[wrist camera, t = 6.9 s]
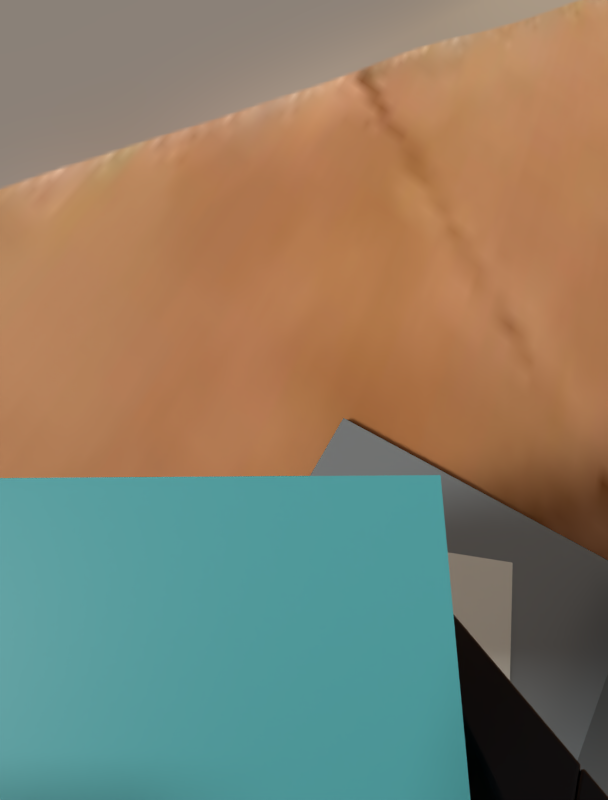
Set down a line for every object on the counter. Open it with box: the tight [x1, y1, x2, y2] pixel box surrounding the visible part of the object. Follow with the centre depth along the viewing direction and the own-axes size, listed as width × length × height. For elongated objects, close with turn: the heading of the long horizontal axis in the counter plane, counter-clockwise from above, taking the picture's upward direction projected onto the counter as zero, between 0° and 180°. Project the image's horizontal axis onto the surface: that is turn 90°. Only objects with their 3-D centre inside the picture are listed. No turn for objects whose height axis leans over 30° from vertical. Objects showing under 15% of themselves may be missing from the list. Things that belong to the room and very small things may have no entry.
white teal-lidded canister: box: [0, 475, 470, 800], centre depth 10 cm, size 6×6×10 cm
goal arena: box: [310, 418, 608, 796], centre depth 19 cm, size 15×15×4 cm
